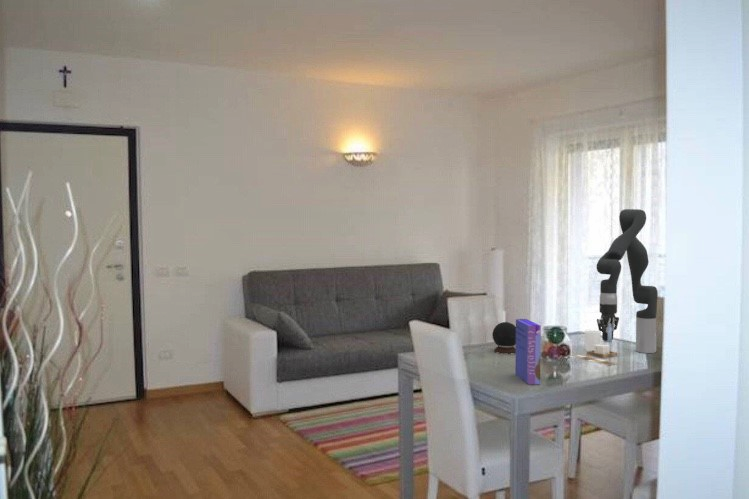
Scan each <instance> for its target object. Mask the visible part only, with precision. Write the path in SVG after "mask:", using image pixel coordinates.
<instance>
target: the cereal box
mask: <svg viewBox="0 0 749 499" xmlns="http://www.w3.org/2000/svg"><path fill="white" fill-rule="evenodd" d="M515 327H516V344H515V348H516V353H515V369H514V370H515V372H514V373H515V374H514V375H515V376H516V377H517V378H519V379H520V380H522V381H523V382H524V383H525V384H526V385H527V386H540V385H541V367H542V366H541V365H542V364H541V360H542V358H541V354H542V352H541V350H542V349H541V348H542V346H541V345H542V344H541V342H542V341H541V340H542V337H541V336H542V332H541V331H542V325H541V324H538V323H536V322H533V321H532V320H530V319H527V318H516V319H515Z"/></svg>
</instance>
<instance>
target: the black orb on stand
mask: <svg viewBox="0 0 749 499" xmlns="http://www.w3.org/2000/svg"><path fill="white" fill-rule="evenodd" d="M492 340H493V342H494V343H495V345H496V347H495V348H494V349H493V350H494V351H496V352H499V353H498V354H500V353H508V354H507V355H512V354H511V353H514V354H516V347H515V346H516V325H515V324H514V323H511V322H509V321H504V322H499V323H498V324H497V325H495V327H494V328H493V330H492ZM494 351H493V352H494ZM496 352H495V353H496Z"/></svg>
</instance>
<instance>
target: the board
mask: <svg viewBox="0 0 749 499" xmlns="http://www.w3.org/2000/svg"><path fill="white" fill-rule="evenodd" d="M569 356H570V357H569V358H575V359H579V360H583V361H588V362H594V363H597V364H603V365H607V367H609V366H616V364H617V362H615V361H611V360H606V359H602V358H597V357H593V356H588V355H581V354H574V355H569Z"/></svg>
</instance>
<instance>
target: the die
mask: <svg viewBox="0 0 749 499" xmlns="http://www.w3.org/2000/svg"><path fill="white" fill-rule="evenodd" d="M609 351H610V345H608V344H602V343H600V344H598V345H594V353H598V354H603V355H604V354H609Z"/></svg>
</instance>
